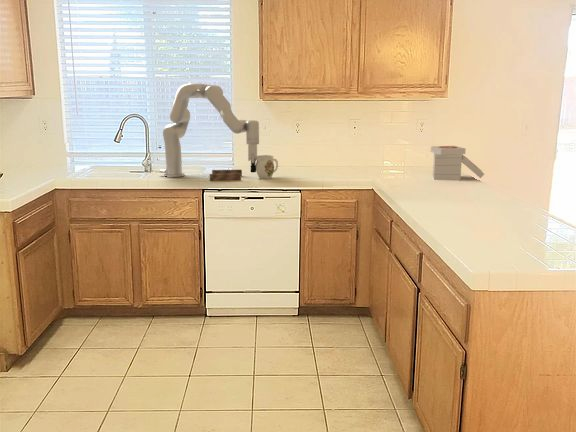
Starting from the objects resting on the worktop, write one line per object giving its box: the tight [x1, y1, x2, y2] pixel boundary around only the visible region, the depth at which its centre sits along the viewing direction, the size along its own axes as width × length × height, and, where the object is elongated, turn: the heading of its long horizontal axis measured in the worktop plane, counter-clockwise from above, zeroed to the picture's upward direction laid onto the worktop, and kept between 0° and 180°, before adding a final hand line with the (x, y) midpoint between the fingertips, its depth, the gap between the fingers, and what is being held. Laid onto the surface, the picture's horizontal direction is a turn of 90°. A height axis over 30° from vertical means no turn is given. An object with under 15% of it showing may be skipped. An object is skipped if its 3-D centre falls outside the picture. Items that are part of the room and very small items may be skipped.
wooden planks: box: [209, 169, 243, 182], centre depth 356 cm, size 18×17×4 cm
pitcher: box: [255, 154, 279, 180], centre depth 356 cm, size 11×18×14 cm, turn 132°
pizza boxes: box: [430, 145, 485, 181], centre depth 348 cm, size 19×30×18 cm, turn 79°
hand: (253, 172), depth 356 cm, fingers closed
